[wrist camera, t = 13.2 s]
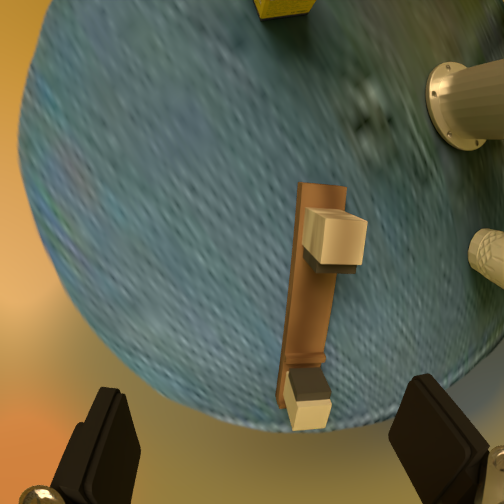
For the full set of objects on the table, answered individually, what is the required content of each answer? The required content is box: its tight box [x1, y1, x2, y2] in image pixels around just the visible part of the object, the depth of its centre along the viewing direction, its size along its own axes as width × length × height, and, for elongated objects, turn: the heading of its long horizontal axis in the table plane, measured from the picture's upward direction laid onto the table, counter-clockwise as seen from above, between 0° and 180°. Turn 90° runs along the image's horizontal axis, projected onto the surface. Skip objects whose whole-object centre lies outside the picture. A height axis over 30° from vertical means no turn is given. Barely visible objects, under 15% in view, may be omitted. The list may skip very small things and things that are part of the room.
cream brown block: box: [283, 367, 332, 431], centre depth 36 cm, size 4×5×7 cm
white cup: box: [468, 228, 504, 289], centre depth 35 cm, size 8×8×10 cm
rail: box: [275, 182, 368, 409], centre depth 34 cm, size 5×29×9 cm, turn 177°
